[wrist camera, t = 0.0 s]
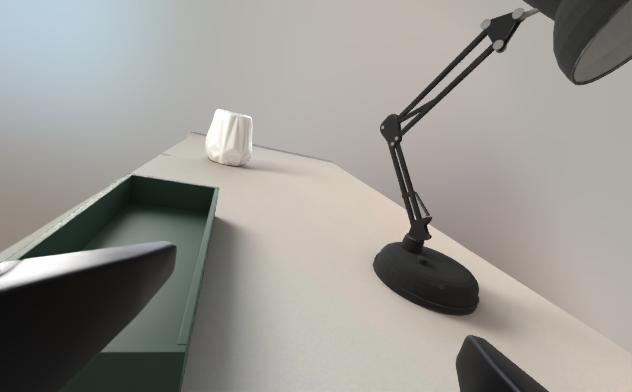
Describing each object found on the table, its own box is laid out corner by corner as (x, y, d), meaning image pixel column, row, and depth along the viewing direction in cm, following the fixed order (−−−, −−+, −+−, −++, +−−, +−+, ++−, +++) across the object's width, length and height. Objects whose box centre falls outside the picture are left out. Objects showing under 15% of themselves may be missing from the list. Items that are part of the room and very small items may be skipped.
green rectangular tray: (175, 415, 18) (185, 352, 17) (-116, 436, 14) (-131, 354, 13) (214, 215, 50) (219, 187, 48) (126, 203, 46) (129, 173, 44)
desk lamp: (568, 378, 31) (871, -134, 20) (336, 303, 34) (486, -186, 23) (481, 272, 55) (598, 9, 43) (348, 232, 57) (425, -25, 46)
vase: (205, 163, 83) (213, 109, 79) (200, 152, 95) (207, 105, 91) (253, 170, 90) (263, 120, 86) (243, 159, 102) (251, 115, 98)
